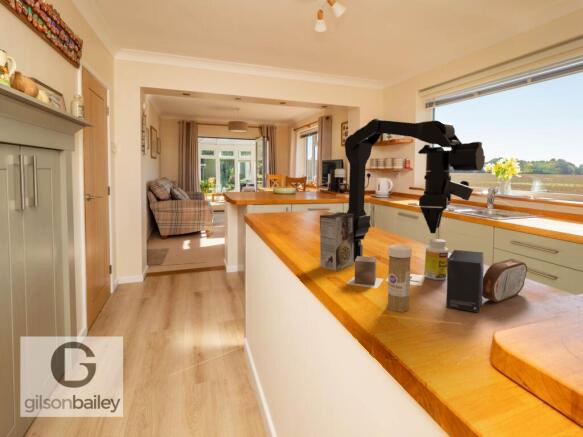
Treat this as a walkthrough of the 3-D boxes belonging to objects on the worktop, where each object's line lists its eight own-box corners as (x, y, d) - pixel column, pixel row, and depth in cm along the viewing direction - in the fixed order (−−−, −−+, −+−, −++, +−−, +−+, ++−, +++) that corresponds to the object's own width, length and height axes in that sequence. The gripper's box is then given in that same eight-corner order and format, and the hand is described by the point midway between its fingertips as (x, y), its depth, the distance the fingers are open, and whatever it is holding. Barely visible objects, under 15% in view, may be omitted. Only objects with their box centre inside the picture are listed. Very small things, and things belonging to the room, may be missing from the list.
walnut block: (354, 283, 88) (354, 260, 87) (357, 277, 92) (357, 256, 92) (374, 285, 86) (374, 262, 85) (376, 279, 91) (376, 257, 90)
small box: (481, 313, 68) (481, 262, 67) (445, 308, 71) (445, 259, 70) (484, 296, 77) (484, 251, 76) (452, 292, 80) (452, 249, 79)
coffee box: (337, 261, 110) (337, 211, 108) (354, 264, 105) (354, 213, 103) (319, 267, 104) (318, 214, 101) (336, 271, 99) (336, 216, 97)
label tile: (385, 281, 89) (385, 280, 89) (392, 272, 97) (392, 271, 97) (421, 286, 85) (421, 285, 85) (425, 276, 93) (425, 275, 93)
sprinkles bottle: (383, 309, 72) (384, 246, 70) (392, 302, 75) (393, 242, 73) (404, 314, 69) (406, 249, 67) (413, 307, 72) (415, 245, 70)
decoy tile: (345, 284, 88) (345, 283, 88) (355, 275, 95) (355, 275, 95) (376, 288, 84) (376, 288, 84) (384, 279, 91) (384, 278, 91)
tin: (512, 289, 82) (516, 255, 80) (526, 293, 79) (531, 258, 78) (477, 302, 74) (481, 264, 72) (492, 307, 71) (497, 268, 70)
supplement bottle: (438, 282, 88) (440, 243, 86) (419, 276, 92) (421, 239, 91) (450, 278, 91) (453, 240, 89) (432, 273, 95) (434, 237, 94)
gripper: (472, 171, 76) (468, 239, 79) (472, 170, 93) (469, 226, 95) (419, 171, 82) (417, 235, 84) (429, 170, 98) (426, 224, 100)
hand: (434, 230), depth 90 cm, fingers open, 9 cm apart
